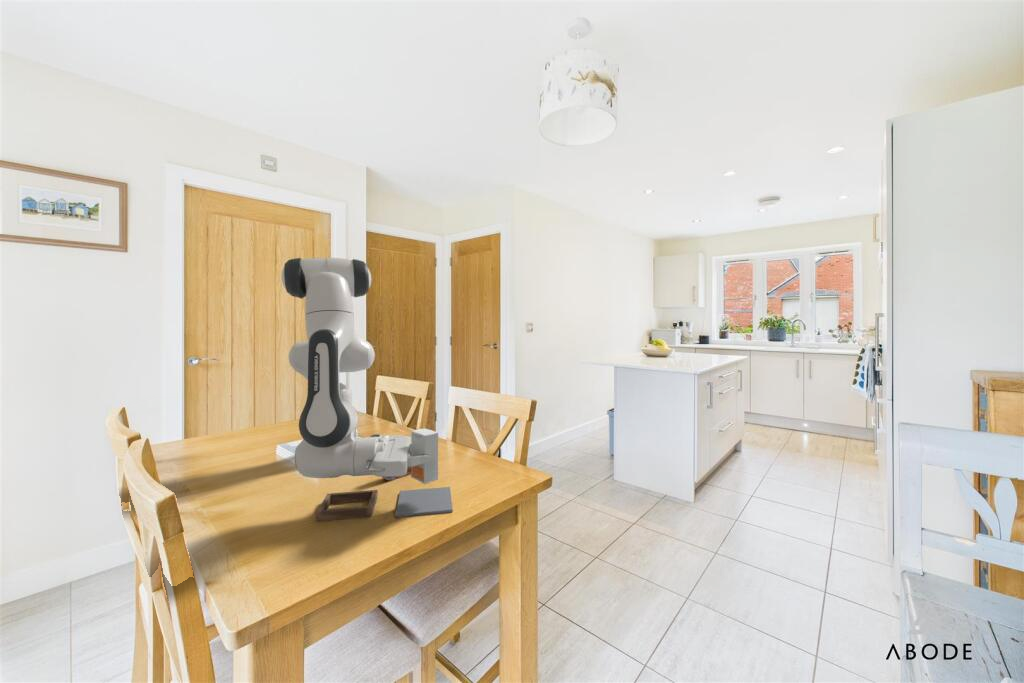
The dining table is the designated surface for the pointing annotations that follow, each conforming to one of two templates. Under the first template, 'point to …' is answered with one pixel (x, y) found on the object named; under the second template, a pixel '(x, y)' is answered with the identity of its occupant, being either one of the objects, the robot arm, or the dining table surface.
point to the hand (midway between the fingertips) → (428, 452)
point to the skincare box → (425, 444)
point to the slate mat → (424, 502)
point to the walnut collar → (347, 513)
